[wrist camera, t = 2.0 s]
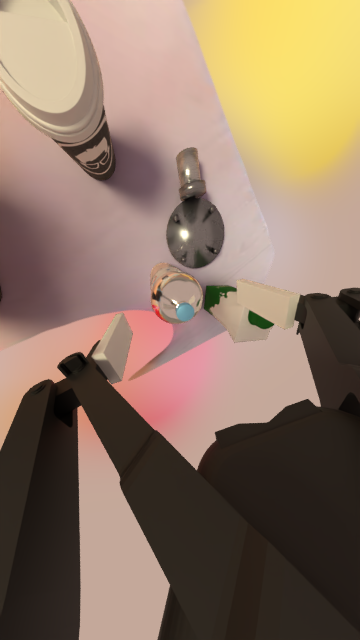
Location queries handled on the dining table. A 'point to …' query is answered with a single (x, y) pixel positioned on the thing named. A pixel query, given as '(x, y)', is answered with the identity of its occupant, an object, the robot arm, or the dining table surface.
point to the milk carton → (235, 315)
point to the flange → (193, 217)
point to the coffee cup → (56, 79)
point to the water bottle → (174, 294)
